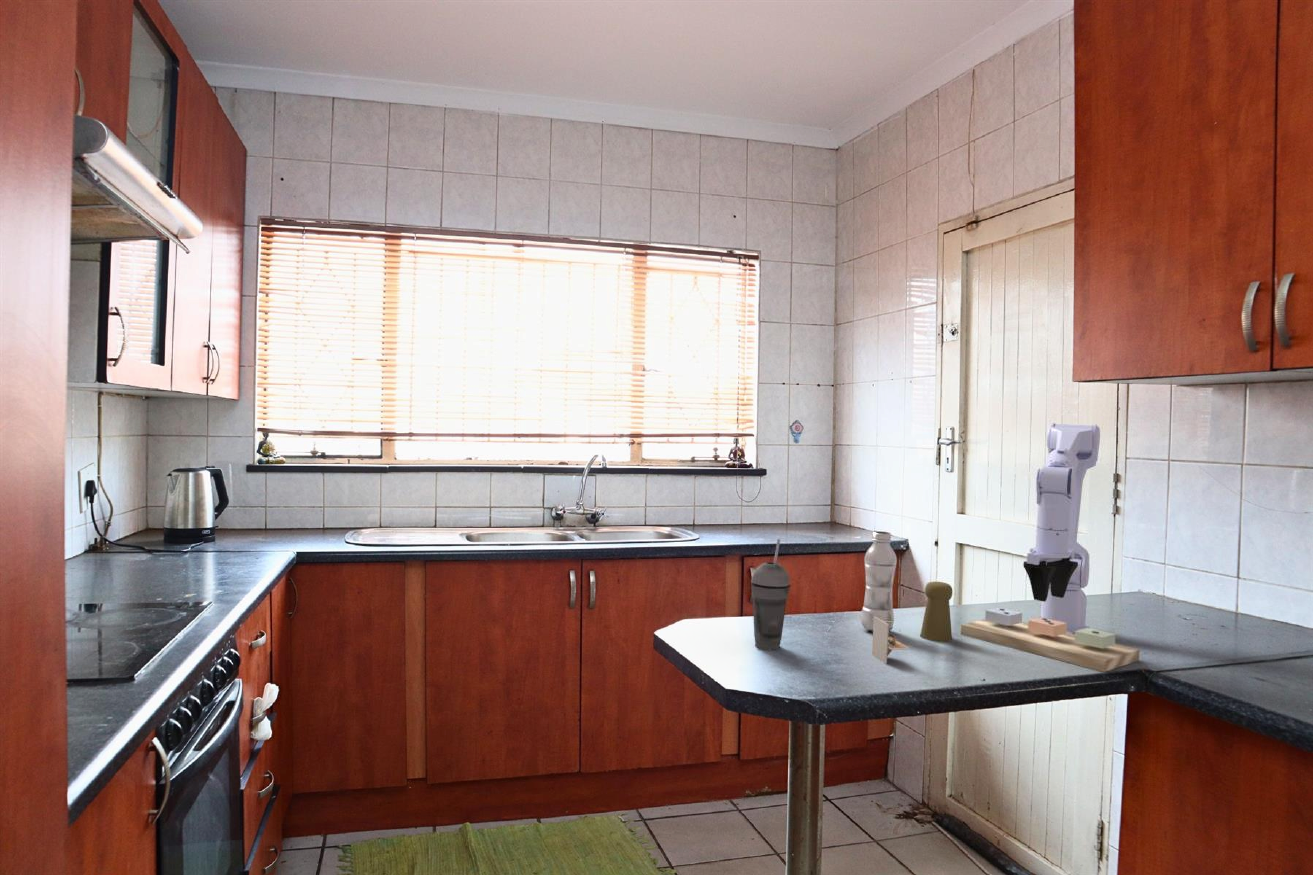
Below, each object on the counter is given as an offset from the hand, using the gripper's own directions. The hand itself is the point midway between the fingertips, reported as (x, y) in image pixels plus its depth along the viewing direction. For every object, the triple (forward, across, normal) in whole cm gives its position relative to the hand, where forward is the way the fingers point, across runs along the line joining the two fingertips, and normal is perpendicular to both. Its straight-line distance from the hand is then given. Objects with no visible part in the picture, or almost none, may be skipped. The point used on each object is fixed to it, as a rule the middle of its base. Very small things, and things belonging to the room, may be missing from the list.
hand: (1048, 598), depth 161 cm
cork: (+10, +14, -15) cm, 23 cm away
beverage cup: (+10, +49, -27) cm, 57 cm away
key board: (+9, 0, 0) cm, 9 cm away
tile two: (+6, 0, -9) cm, 11 cm away
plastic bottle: (+10, +21, -24) cm, 33 cm away
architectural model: (+10, +36, -11) cm, 39 cm away
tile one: (+6, 0, +9) cm, 11 cm away
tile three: (+7, 0, 0) cm, 7 cm away
